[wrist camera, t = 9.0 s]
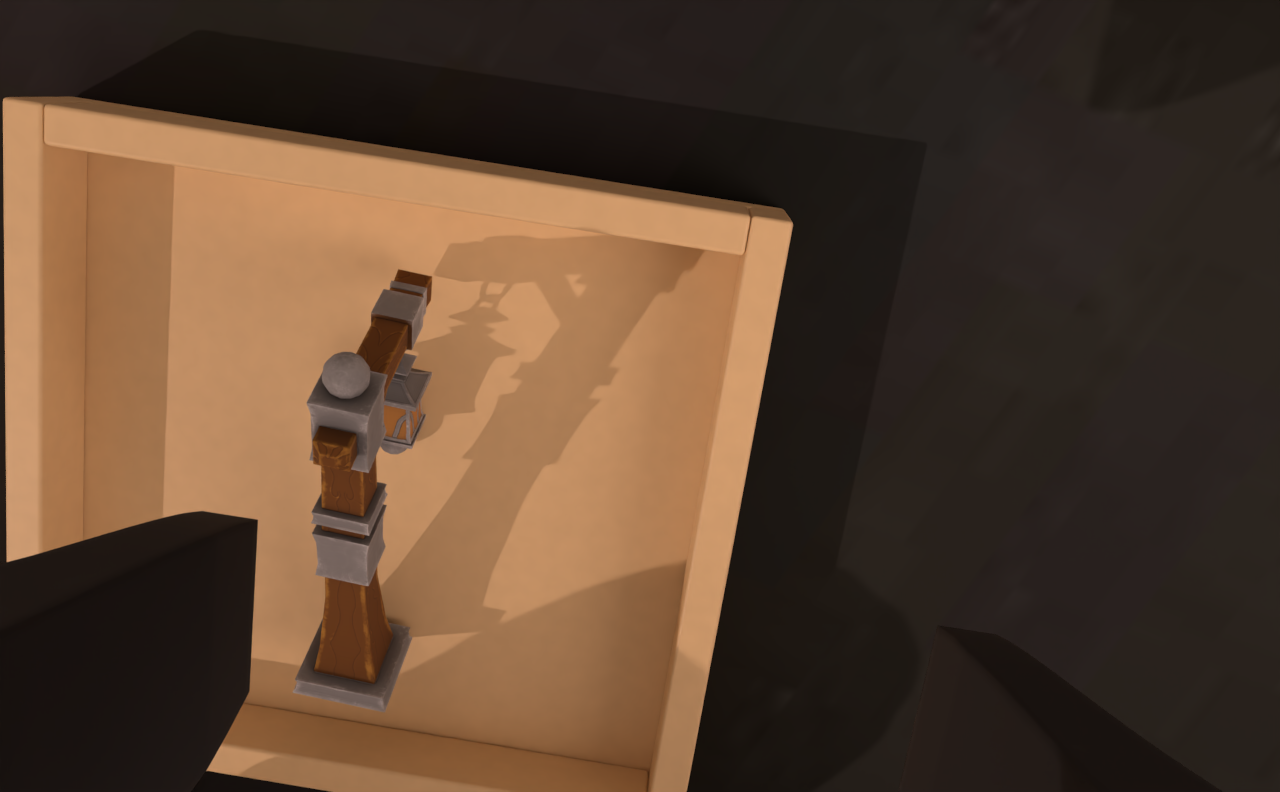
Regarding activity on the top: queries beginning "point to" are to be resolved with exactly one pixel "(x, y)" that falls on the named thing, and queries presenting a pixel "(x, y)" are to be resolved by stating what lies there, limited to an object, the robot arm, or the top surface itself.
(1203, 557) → the top surface
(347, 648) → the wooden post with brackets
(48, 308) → the tray
